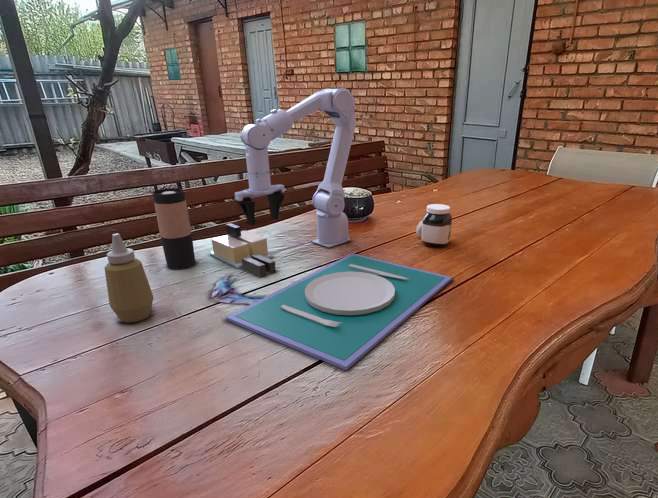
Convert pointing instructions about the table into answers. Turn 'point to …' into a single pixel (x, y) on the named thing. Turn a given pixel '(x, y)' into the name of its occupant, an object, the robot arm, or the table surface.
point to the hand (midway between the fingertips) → (263, 221)
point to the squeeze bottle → (127, 283)
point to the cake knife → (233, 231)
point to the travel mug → (174, 227)
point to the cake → (239, 248)
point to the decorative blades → (223, 289)
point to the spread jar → (435, 226)
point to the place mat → (341, 307)
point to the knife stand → (258, 265)
